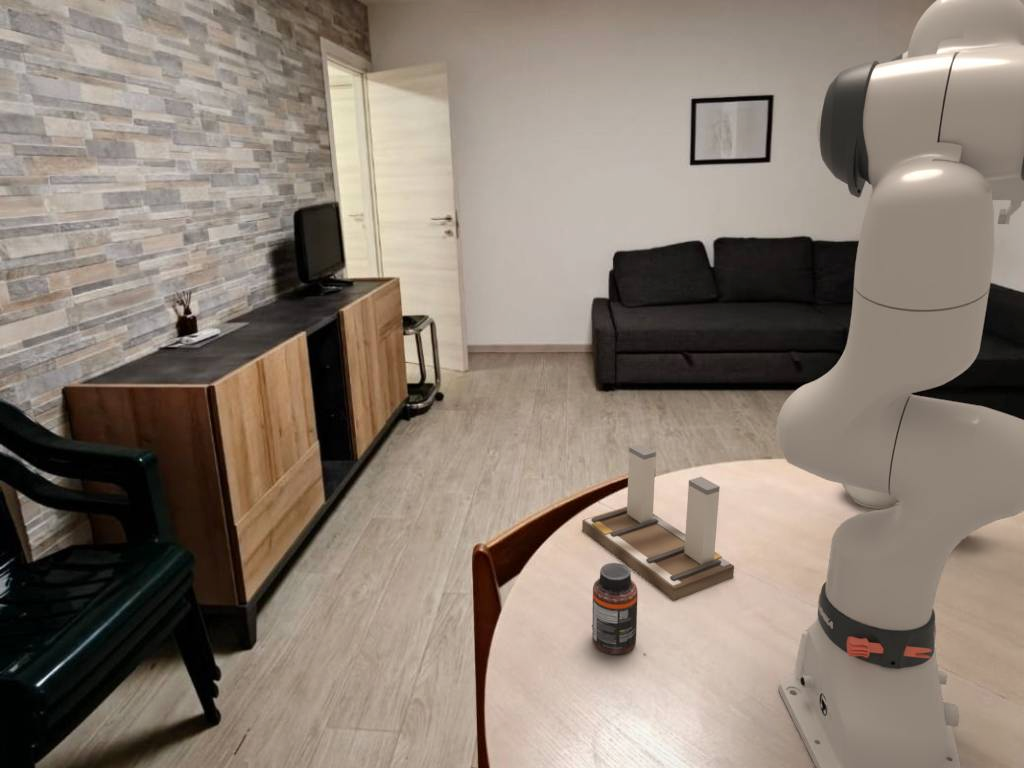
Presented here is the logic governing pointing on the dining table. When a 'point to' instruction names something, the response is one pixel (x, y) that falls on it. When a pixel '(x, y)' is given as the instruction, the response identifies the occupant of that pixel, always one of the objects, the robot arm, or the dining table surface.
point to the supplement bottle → (614, 610)
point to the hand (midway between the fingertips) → (967, 221)
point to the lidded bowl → (870, 498)
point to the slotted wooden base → (656, 552)
